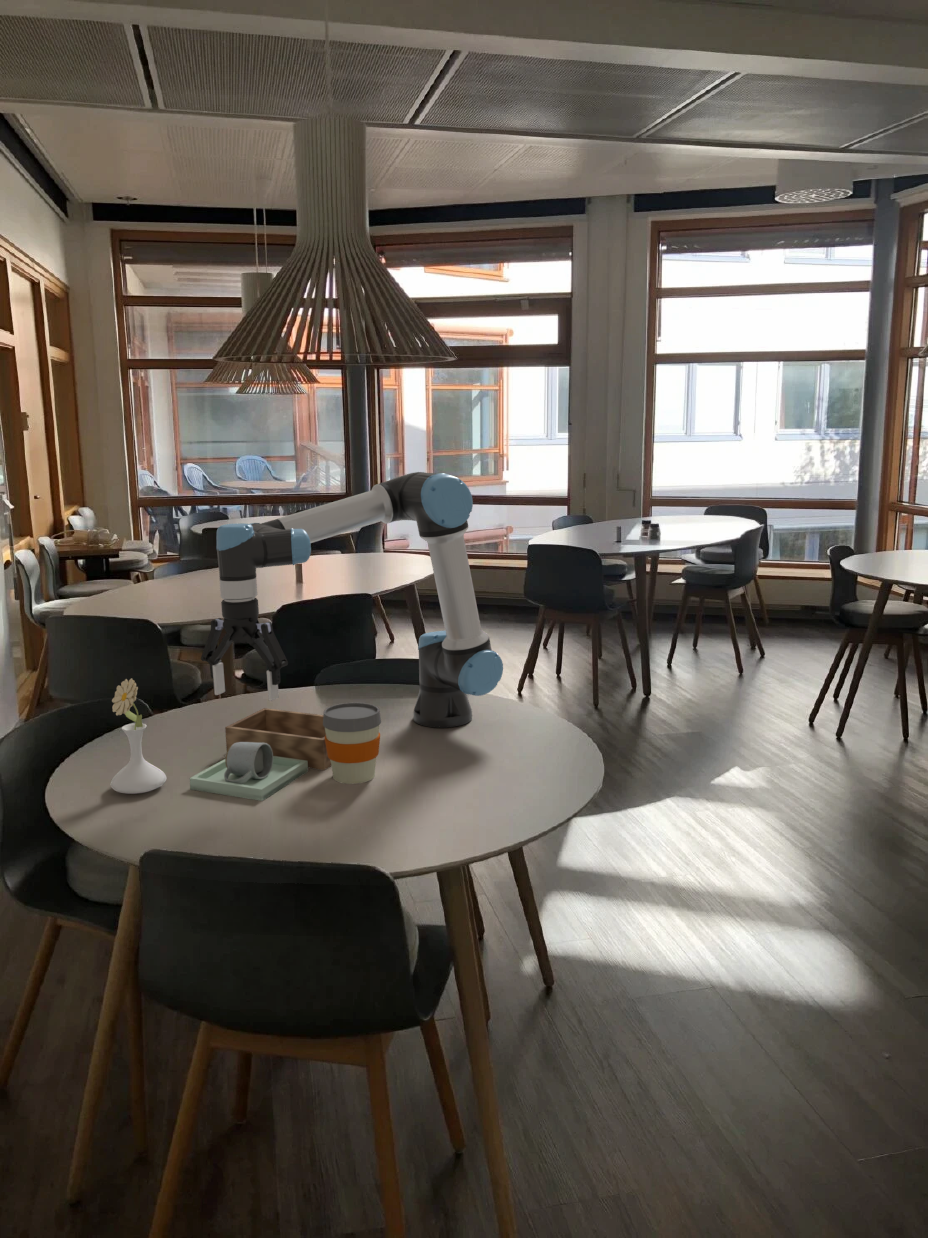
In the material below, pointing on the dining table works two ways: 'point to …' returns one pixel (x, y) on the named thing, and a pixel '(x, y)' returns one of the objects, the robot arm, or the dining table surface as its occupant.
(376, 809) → the dining table surface
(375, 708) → the reusable coffee cup
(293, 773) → the sage tray
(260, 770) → the ceramic mug
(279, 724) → the walnut box frame
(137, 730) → the flower in vase
